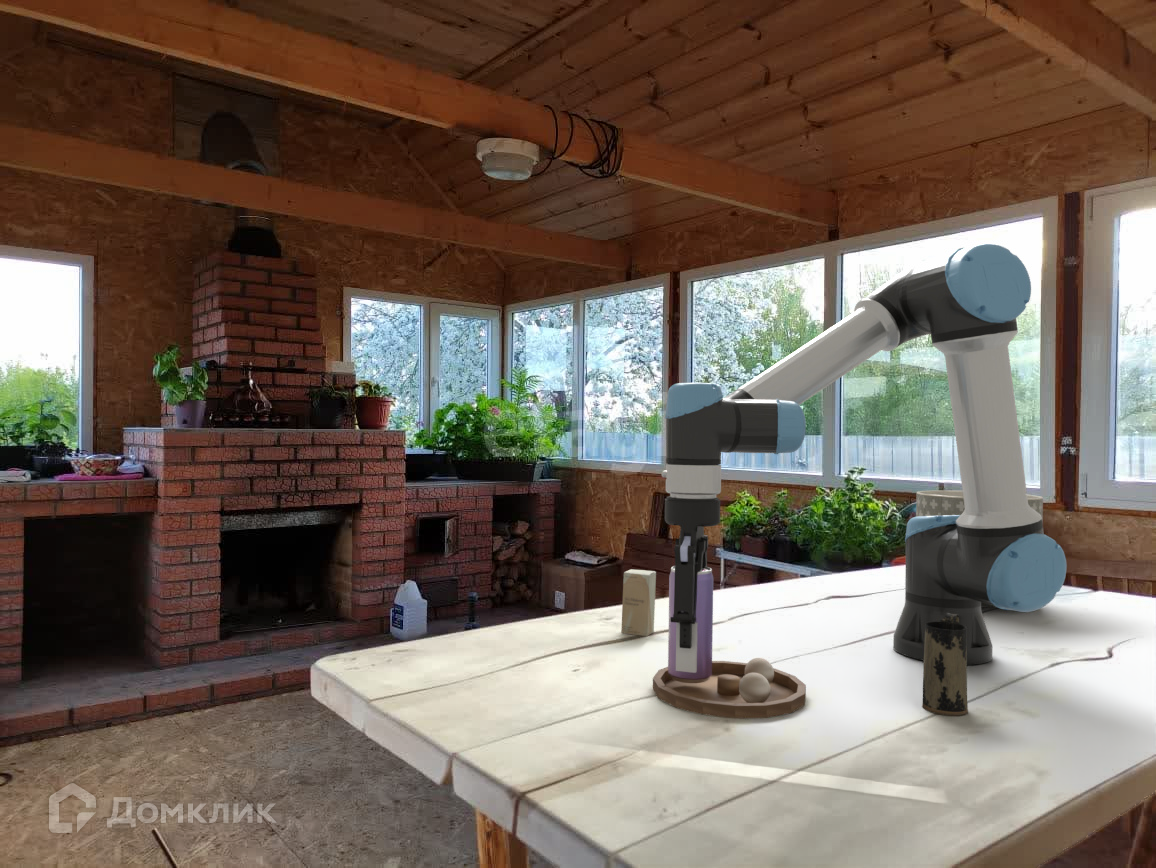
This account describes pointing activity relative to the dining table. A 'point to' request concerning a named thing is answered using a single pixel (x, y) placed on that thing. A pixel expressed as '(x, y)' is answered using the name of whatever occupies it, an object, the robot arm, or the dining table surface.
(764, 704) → the tray
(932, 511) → the planter
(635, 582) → the box
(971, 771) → the dining table surface
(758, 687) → the bead
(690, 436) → the robot arm
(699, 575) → the beverage can
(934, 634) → the mug
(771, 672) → the bead
